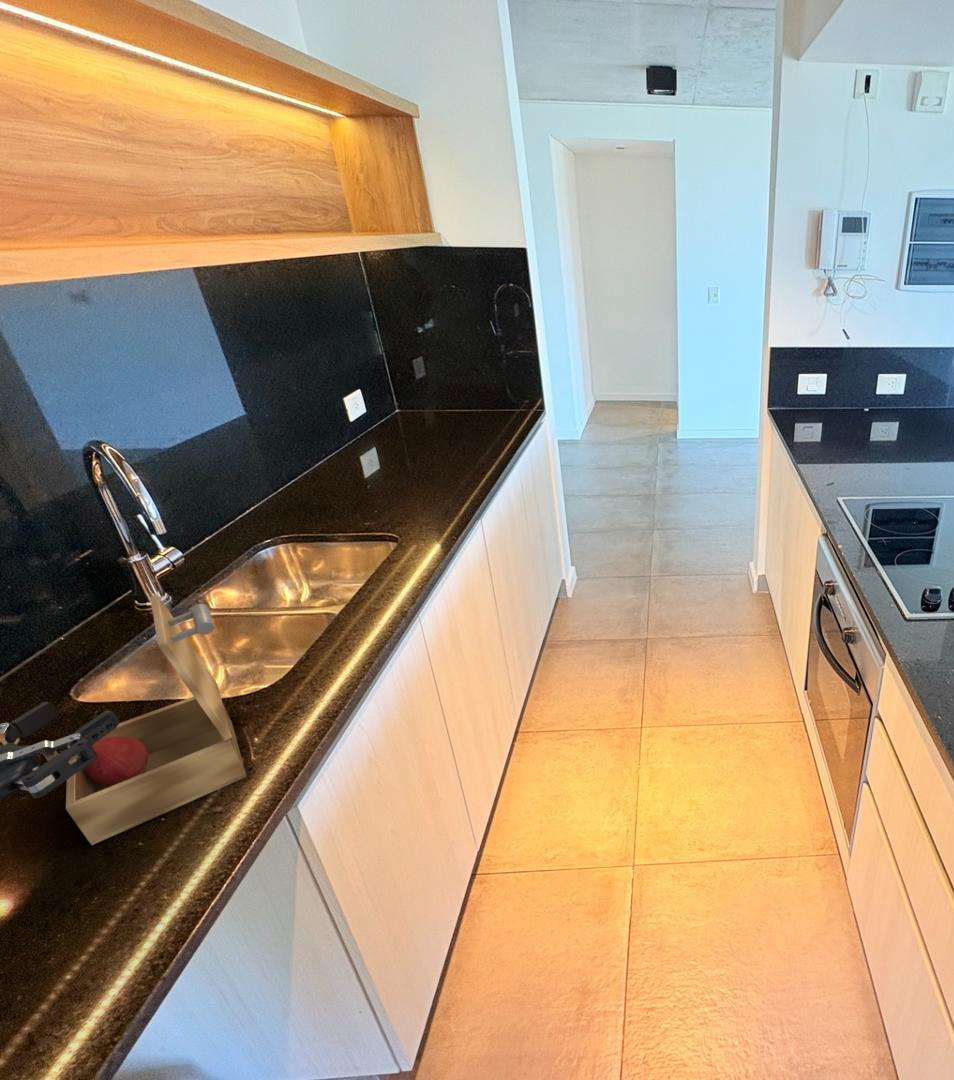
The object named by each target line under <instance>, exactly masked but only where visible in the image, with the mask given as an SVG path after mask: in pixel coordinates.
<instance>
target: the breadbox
mask: <svg viewBox="0 0 954 1080" xmlns="http://www.w3.org/2000/svg"><path fill="white" fill-rule="evenodd" d="M223 706H224V710H225V714H226V717H227V721H228V725H229V728H230V732H231V736H232V738H230V739H227V740H224V739H223V737H222V736H221V734H220V733H219V732H218V730H217V729H216V727H215V726H214V725H213V723H212V722H211V720H210V719H209V717H208V716H207V715H206V713H205V712H204V710H203V709H202V707H201V706H200V705H199V703H198V702H197V700H196V699H195V697H194V696H191V697H187V698H186V699H183V700H180V701H177V702H175V703H171V704H168V705H166V706H164V707H161V708H158V709H155V710H153V711H150V712H148V713H145V714H141V715H139V716H136V717H133V718H130V719H127V720H125V721H122V722H119V725H118V726H117V727H116V728H115V729H114V730H113V731H111V732H110V733H109V734H107V735H106V736H104V737H103V738H102V739H105V738H110V737H130V738H134V739H136V740H139V741H140V742H142V743H143V744H144V745H145V746H146V748H147V751H148V761H147V767H146V772H145V773H143V774H140V775H138V776H136V777H133V778H131V779H128V780H126V781H123V782H121V783H118V784H116V785H101V784H98V783H96V782H94V781H92V780H91V779H90V778H89V777H88V775H87V774H86V772H85V769H84V768H83V769H81V770H80V771H79V772H77V773H76V774H74V775H73V776H71V777H70V778H69V779H67V780H66V789H65V790H66V793H65V794H66V795H65V810H66V812H67V813H68V814H69V816H70V817H71V819H72V820H73V821H74V823H75V825H76V826H77V827H78V828H79V830H80V831H81V833H82V834H83V836H84V837H85V838H86V840H87V841H88V843H89V844H90V845H91V846H93V845H96V844H98V843H100V842H102V841H105V840H107V839H109V838H111V837H114V836H116V835H118V834H120V833H123V832H125V831H127V830H130V829H132V828H134V827H136V826H139V825H141V824H143V823H145V822H147V821H150V820H152V819H154V818H156V817H159V816H161V815H163V814H166V813H168V812H170V811H173V810H175V809H177V808H179V807H181V806H183V805H186V804H188V803H190V802H192V801H195V800H197V799H199V798H201V797H204V796H206V795H208V794H211V793H213V792H215V791H218V790H220V789H223V788H224V787H227V786H229V785H231V784H233V783H235V782H238V781H240V780H243V779H244V778H247V773H246V772H247V771H246V769H245V765H244V762H243V758H242V754H241V751H240V747H239V744H238V740H237V737H236V733H235V729H234V726H233V722H232V720H231V718H230V716H229V714H228V711H227V709H226V707H225V705H224V704H223ZM69 747H70V746H69V745H68V746H67V748H69ZM78 759H80V758H79V757H78V758H76V759H73V760H71V761H69V764H70V765H71V764H72V763H74V762H75V761H77V760H78Z"/></svg>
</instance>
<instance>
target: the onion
mask: <svg viewBox="0 0 954 1080" xmlns="http://www.w3.org/2000/svg"><path fill="white" fill-rule="evenodd" d="M92 747H93V749H94V751H95V752H96V754H97V755H98V757H97V759H96V760H94V761H93V762H91V763H90V764H89V765H87V766H86V767H84V769H85V772H86V774H87V775H88V777H89V778H90V779H91V780H92V781H94V782H96V783H98V784H101V785H116V784H118V783H121V782H123V781H126V780H128V779H131V778H133V777H136V776H138V775H140V774H143V773H145V772H146V767H147V761H148V751H147V748H146V746H145V745H144V744H143V743H142V742H140V741H139V740H136V739H134V738H130V737H110V738H105V739H100V740H99V741H97V742H96V743H95V744H93V745H92Z"/></svg>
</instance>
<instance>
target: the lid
mask: <svg viewBox="0 0 954 1080" xmlns="http://www.w3.org/2000/svg"><path fill="white" fill-rule="evenodd" d="M149 598H150V604H151V612H152V617H153V623H154V629H155V630H154V631H155V636H156V643H157V646H158V648H159V650H160V651H161V652H162V654H163V655H164V656H165V658H166V659H167V661H168V662H169V663H170V665H171V667H172V668H173V669H174V670H175V672H176V673H177V675H178V677H179V678H180V679H181V680H182V682H183V683H184V685H185V687H187V689H188V690H189V692H190V694H191V695H192V697H195V699H196V700H197V702H198V703H199V705H200V706H201V707H202V709H203V710H204V712H205V713H206V715H207V716H208V717H209V719H210V720H211V722H212V723H213V725H214V726H215V727H216V729H217V730H218V732H219V733H220V734H221V736H222V737H223V739H224V740H227V739H230V738H232V736H231V732H230V728H229V725H228V721H227V717H226V714H225V710H224V707H225V705H224V703H223V700H222V695H221V692H220V689H219V684H218V683H217V681H216V680H215V678H214V677H213V676H212V673H211V672H210V671H209V669H208V668H207V666H206V665H205V663H204V662H203V659H201V657H200V656H199V654H198V653H197V651H196V649H195V648H194V647H193V645H192V644H191V642H190V641H189V639H188V638H189V637H193V636H195V635H197V634H198V635H202V636H206V635H210V634H212V633H213V632H214V630H215V627H216V626H215V623H214V620H213V617H212V614H211V610H210V607H209V605H207V604H204V603H198V604H195V605H193V606H192V607H191V610H190V611H188V612H185V613H183V614H180V615H177V616H174V617H173V615H172V613H171V612H170V611H169V609H168V607H167V606H166V604H165V603H164V601H163V600H162V598H161V597H160V596H159V594H158V593H157V594H153V595H151V596H150V597H149ZM192 619H193V624H194V626H193V627H191V628H188V629H185V630H182V629H181V627H180V626H179V624H181V623H184V622H186V621H189V620H192ZM223 705H224V706H223Z"/></svg>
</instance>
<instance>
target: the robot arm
mask: <svg viewBox="0 0 954 1080" xmlns="http://www.w3.org/2000/svg"><path fill="white" fill-rule="evenodd" d="M58 716H59V711H58V709H57V708H56V706H55V704H54V703H53V702H47V701H43V702H41V703H39V704H38V705H36V706H35V707H33V708H31V709H29V710H28V711H26V712H25V713H23V714H21V715H19V716H18V717H16V718H15V719H13V720H12V721H11V722H2V723H0V803H1V802H2V801H3V800H4V799H6V798H7V797H9V796H10V795H12V794H15V793H16V792H19V791H21V790H22V791H28V792H29V794H30V795H31V796H32V798H34V799H39V798H42V797H44V796H46V795H47V794H48V793H50V792H51V791H53V790H54V789H56V788H57V787H59V786H60V785H61V784H63V783H65V782H67V779H69V778H70V777H71V776H73V775H74V774H76V773H77V772H79V771H80V770H81V769H83V768H84V767H86V766H87V765H89V764H90V763H91V762H93V761H94V760H96V759H97V757H98V755H97V754H96V752H95V751H94V749H93V747H92V745H93V744H95V743H96V742H97V741H99V740H100V739H102V738H103V737H104V736H106V735H107V734H109V733H110V732H111V731H113V730H114V729H115V728H116V727H117V726H118V725H119V723H120V720H119V718H118V717H117V714H116V713H115V712H114V711H110V710H104V711H103V712H101V713H100V714H98V715H97V716H96V717H94V718H93V719H90V721H88V722H86V723H85V724H84V725H82V726H81V727H80V728H78V729H77V730H75V731H74V732H73V733H72V734H68V735H67V736H64V737H61V738H58V739H56V740H53V741H51V740H46V739H45V740H42V741H39V742H37V743H34V744H32V745H27V744H26V745H18V743H19V742H20V740H21V738H27V737H28V736H30V735H32V734H33V733H35V732H36V731H38V730H39V729H40V728H42V727H44V726H45V725H47V724H48V723H50V722H51V721H53V720H55V719H56V718H57V717H58ZM68 745H69V746H70V747H69V748H68ZM66 747H67V748H66ZM63 748H66V749H64V750H63V751H61V752H60V753H58V752H57V750H60V749H63ZM40 755H43V757H44V758H45V759H46V762H44V763H43V764H42V765H41V763H42V757H41V756H40ZM78 757H79V758H80V759H78V760H77V761H75V762H74V763H72V764H71V765H70V764H69V761H71V760H73V759H76V758H78Z"/></svg>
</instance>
